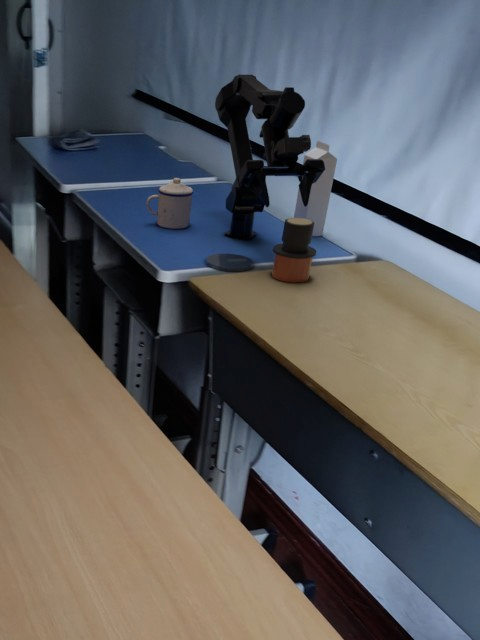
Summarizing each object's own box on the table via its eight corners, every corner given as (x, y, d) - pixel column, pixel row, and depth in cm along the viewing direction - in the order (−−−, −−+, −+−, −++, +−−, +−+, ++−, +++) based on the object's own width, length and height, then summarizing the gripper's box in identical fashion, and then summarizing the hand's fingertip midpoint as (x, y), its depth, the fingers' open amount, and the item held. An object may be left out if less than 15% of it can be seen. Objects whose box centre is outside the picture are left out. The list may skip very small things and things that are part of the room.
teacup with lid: (189, 220, 226) (193, 175, 219) (190, 230, 218) (195, 183, 211) (145, 219, 226) (148, 173, 219) (145, 228, 219) (148, 181, 212)
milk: (302, 237, 216) (318, 145, 203) (291, 230, 220) (306, 140, 208) (322, 236, 217) (340, 144, 204) (311, 229, 222) (327, 140, 209)
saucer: (216, 254, 202) (216, 250, 201) (259, 262, 197) (259, 258, 197) (198, 265, 194) (199, 262, 193) (243, 274, 189) (243, 271, 189)
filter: (279, 250, 192) (285, 213, 188) (320, 257, 189) (327, 219, 184) (265, 260, 186) (271, 222, 181) (307, 268, 182) (314, 229, 177)
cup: (278, 268, 194) (282, 244, 191) (312, 274, 191) (317, 250, 187) (266, 277, 188) (270, 253, 185) (301, 284, 185) (306, 260, 182)
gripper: (250, 120, 180) (261, 185, 178) (330, 120, 184) (341, 184, 181) (233, 152, 191) (243, 214, 189) (309, 151, 194) (319, 212, 192)
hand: (287, 205), depth 187 cm, fingers open, 9 cm apart
